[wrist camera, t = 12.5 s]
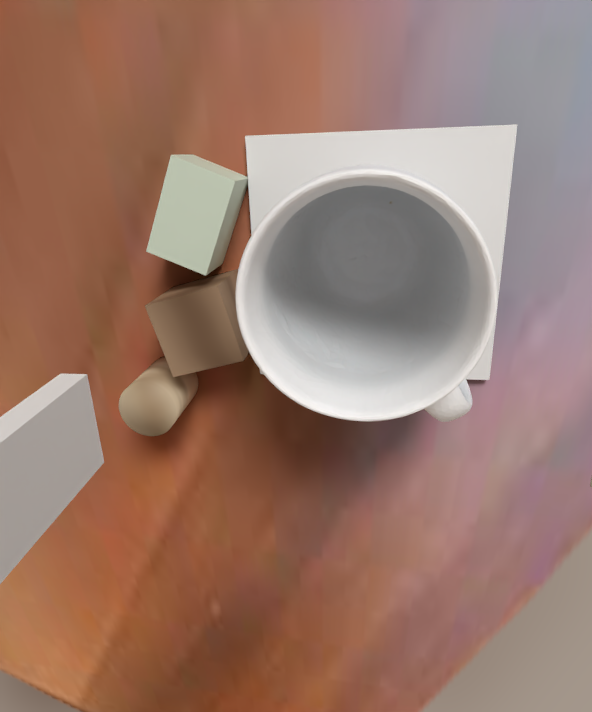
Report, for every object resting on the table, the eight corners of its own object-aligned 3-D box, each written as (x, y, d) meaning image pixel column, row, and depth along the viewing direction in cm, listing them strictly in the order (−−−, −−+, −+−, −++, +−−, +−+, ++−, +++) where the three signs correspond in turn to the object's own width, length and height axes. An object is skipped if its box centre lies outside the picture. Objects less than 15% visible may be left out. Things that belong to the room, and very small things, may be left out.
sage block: (169, 241, 36) (146, 251, 32) (193, 154, 34) (171, 154, 30) (223, 263, 36) (205, 275, 33) (250, 177, 34) (235, 181, 30)
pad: (261, 370, 39) (260, 373, 38) (247, 136, 33) (245, 135, 32) (487, 376, 36) (489, 379, 36) (514, 125, 30) (517, 124, 30)
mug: (520, 317, 34) (600, 409, 22) (379, 402, 38) (381, 521, 25) (389, 120, 31) (397, 100, 19) (249, 234, 34) (181, 279, 22)
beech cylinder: (151, 402, 41) (123, 434, 36) (145, 355, 40) (114, 382, 35) (200, 404, 40) (178, 437, 36) (195, 356, 39) (171, 384, 34)
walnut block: (197, 350, 39) (173, 377, 34) (173, 286, 37) (144, 305, 33) (259, 335, 38) (243, 360, 33) (237, 268, 36) (217, 286, 32)
